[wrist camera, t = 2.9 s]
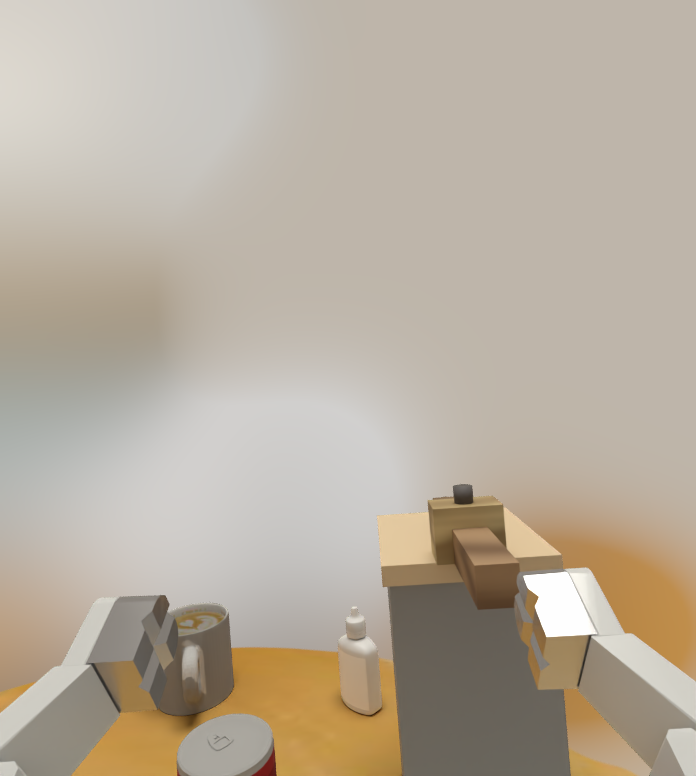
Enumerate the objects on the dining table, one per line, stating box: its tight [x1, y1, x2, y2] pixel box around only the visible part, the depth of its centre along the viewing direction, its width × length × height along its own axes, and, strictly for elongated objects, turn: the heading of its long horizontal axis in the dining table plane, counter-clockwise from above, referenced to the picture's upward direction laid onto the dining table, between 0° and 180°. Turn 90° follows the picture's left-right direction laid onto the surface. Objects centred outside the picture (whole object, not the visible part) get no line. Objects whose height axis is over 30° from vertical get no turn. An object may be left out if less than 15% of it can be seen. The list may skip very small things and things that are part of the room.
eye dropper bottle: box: [338, 607, 382, 715], centre depth 62 cm, size 4×6×12 cm
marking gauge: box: [428, 484, 520, 610], centre depth 38 cm, size 20×5×5 cm, turn 178°
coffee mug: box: [159, 603, 234, 716], centre depth 66 cm, size 13×10×10 cm
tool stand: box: [377, 507, 571, 776], centre depth 43 cm, size 15×13×26 cm
